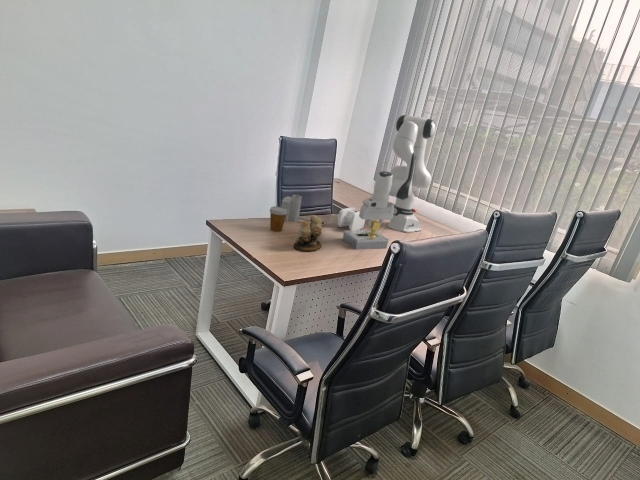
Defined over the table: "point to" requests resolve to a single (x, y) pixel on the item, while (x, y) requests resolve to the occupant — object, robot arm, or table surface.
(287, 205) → the electronic device
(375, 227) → the peg
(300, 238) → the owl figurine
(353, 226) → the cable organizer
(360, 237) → the keyhole plate
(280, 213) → the disposable coffee cup
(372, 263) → the table surface
